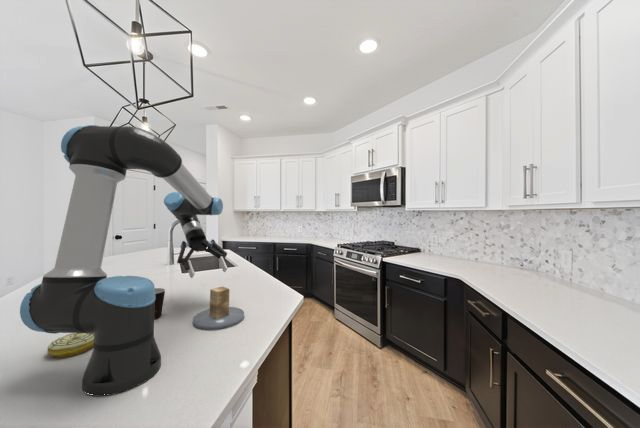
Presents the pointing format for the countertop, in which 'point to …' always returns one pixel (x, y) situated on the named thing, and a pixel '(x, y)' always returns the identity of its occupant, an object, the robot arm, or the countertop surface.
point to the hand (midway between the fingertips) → (210, 273)
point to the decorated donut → (71, 344)
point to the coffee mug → (159, 302)
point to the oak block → (219, 302)
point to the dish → (210, 323)
